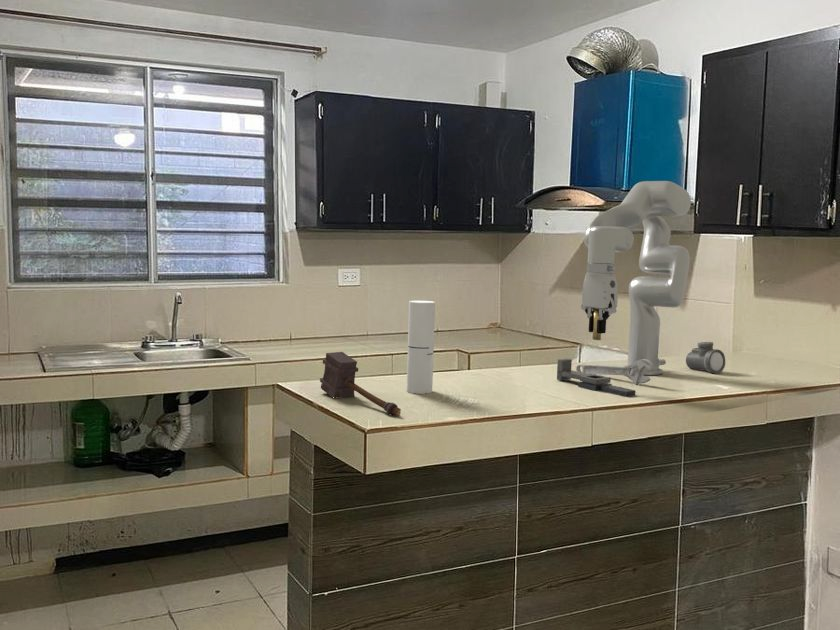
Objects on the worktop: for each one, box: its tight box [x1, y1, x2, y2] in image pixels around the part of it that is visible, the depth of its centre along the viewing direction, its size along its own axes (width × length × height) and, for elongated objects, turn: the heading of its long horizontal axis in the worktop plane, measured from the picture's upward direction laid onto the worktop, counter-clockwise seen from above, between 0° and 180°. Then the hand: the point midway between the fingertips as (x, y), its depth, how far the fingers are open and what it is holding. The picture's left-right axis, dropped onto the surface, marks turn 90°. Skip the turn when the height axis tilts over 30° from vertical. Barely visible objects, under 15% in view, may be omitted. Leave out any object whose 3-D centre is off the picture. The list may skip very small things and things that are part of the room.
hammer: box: [319, 351, 402, 417], centre depth 205 cm, size 7×33×10 cm, turn 36°
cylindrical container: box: [406, 299, 436, 395], centre depth 222 cm, size 7×7×25 cm
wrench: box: [575, 359, 654, 386], centre depth 249 cm, size 8×2×30 cm
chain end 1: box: [556, 358, 611, 384], centre depth 239 cm, size 6×17×6 cm, turn 36°
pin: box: [591, 308, 602, 341], centre depth 233 cm, size 2×2×9 cm
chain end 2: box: [577, 381, 636, 398], centre depth 231 cm, size 7×17×1 cm, turn 36°
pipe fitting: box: [685, 341, 726, 375], centre depth 270 cm, size 12×8×10 cm
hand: (597, 332), depth 234 cm, fingers closed on pin, 2 cm apart
